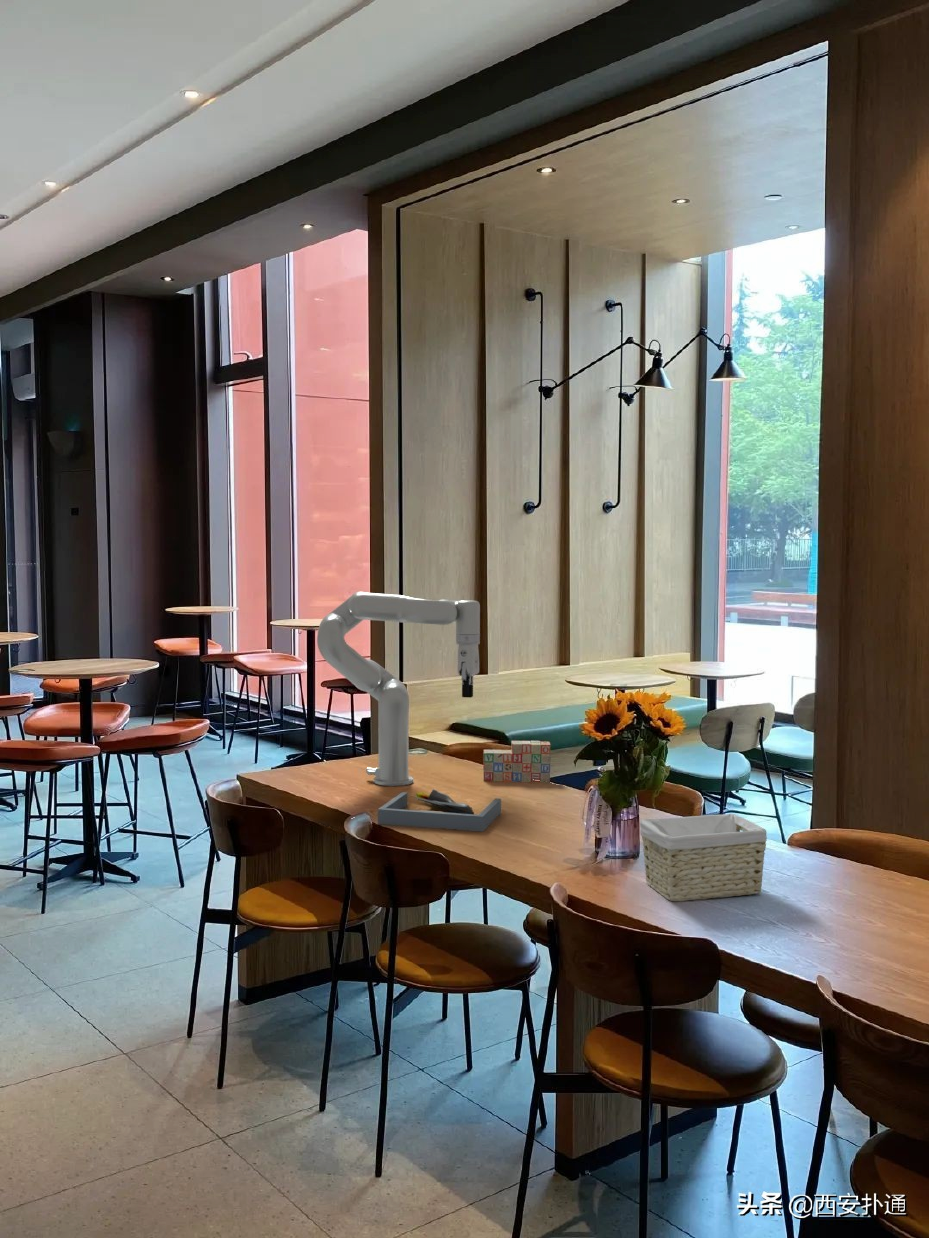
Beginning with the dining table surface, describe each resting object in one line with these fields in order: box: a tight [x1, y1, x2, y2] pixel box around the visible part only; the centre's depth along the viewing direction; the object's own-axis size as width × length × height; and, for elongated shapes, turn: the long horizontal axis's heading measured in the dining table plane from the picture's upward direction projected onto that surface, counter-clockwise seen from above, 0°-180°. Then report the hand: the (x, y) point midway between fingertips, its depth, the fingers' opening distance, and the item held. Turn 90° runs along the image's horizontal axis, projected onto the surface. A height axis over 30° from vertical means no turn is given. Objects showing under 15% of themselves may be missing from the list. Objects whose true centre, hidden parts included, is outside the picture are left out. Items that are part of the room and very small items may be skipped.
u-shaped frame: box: [377, 791, 502, 832], centre depth 303 cm, size 29×21×4 cm
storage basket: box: [639, 813, 768, 902], centre depth 241 cm, size 24×16×15 cm
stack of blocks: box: [482, 740, 552, 783], centre depth 353 cm, size 21×6×12 cm, turn 89°
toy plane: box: [410, 788, 475, 815], centre depth 313 cm, size 25×17×5 cm
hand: (467, 696), depth 348 cm, fingers closed
